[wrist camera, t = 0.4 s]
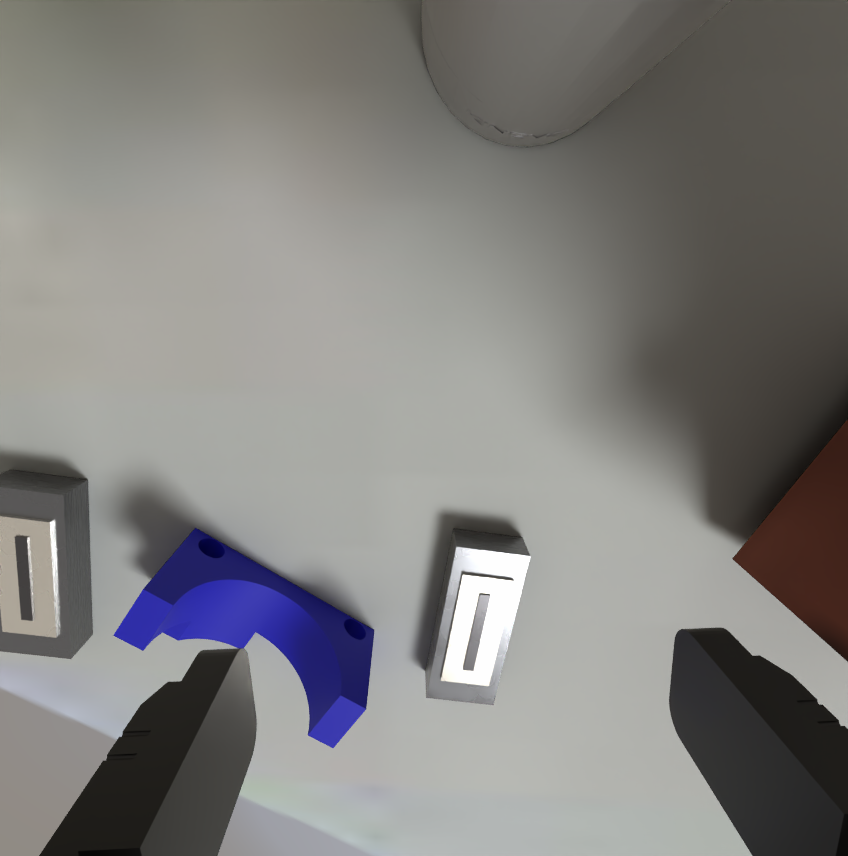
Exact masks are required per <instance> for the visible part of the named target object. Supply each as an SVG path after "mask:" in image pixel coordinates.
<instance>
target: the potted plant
mask: <svg viewBox="0 0 848 856" xmlns="http://www.w3.org/2000/svg"><path fill="white" fill-rule="evenodd" d="M733 560H734V561H735V562H736V563H738V564H739V565H740V566H741V567H742V568H743V569H744V570H745V571H747V572H748V573H749V574H750V575H751V576H752V577H753V578H754V579H756V580H757V581H758V582H759V583H760V584H761V585H762V586H763V587H765V588H766V589H767V590H768V591H769V592H770V593H771V594H772V595H774V596H775V597H776V598H777V599H778V600H779V601H780V602H781V603H783V604H784V605H785V606H786V607H787V608H788V609H789V610H790V611H792V612H793V613H794V614H795V615H796V616H797V617H798V618H799V619H801V620H802V621H803V622H804V623H805V624H806V625H807V626H808V627H809V628H811V629H812V630H813V631H814V632H815V633H816V634H817V635H818V636H820V637H821V638H822V639H823V640H824V641H825V642H826V643H827V644H829V645H830V646H831V647H832V648H833V649H834V650H835V651H836V652H838V653H839V654H840V655H841V656H842V657H843V658H844V659H845V660H847V661H848V419H847V421H846V422H845V423H844V424H843V425H842V427H841V428H840V429H839V430H838V431H837V433H836V434H835V435H834V436H833V437H832V439H831V440H830V441H829V442H828V444H827V445H826V446H825V447H824V448H823V450H822V451H821V452H820V453H819V454H818V456H817V457H816V458H815V459H814V461H813V462H812V463H811V464H810V465H809V467H808V468H807V469H806V470H805V471H804V473H803V474H802V475H801V476H800V477H799V479H798V480H797V481H796V482H795V484H794V485H793V486H792V487H791V488H790V490H789V491H788V492H787V493H786V494H785V496H784V497H783V498H782V499H781V501H780V502H779V503H778V504H777V505H776V507H775V508H774V509H773V510H772V511H771V513H770V514H769V515H768V516H767V517H766V519H765V520H764V521H763V522H762V524H761V525H760V526H759V527H758V528H757V530H756V531H755V532H754V533H753V534H752V536H751V537H750V538H749V539H748V541H747V542H746V543H745V544H744V545H743V547H742V548H741V549H740V550H739V551H738V553H737V554H736V555H735V556H734V557H733Z"/></svg>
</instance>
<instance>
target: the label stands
mask: <svg viewBox="0 0 848 856" xmlns="http://www.w3.org/2000/svg"><path fill="white" fill-rule="evenodd" d="M529 560H530V554H529V552H528V550H527V547H526V545H525V543H524V540H523V538H521V537H513V536H506V535H498V534H491V533H483V532H476V531H468V530H461V529H453V534H452V539H451V544H450V549H449V554H448V559H447V564H446V569H445V574H444V579H443V585H442V590H441V595H440V600H439V605H438V610H437V615H436V620H435V625H434V630H433V636H432V641H431V646H430V651H429V656H428V661H427V666H426V671H425V676H426V698H434V699H443V700H452V701H461V702H470V703H479V704H489V705H494V701H495V697H496V693H497V688H498V684H499V680H500V676H501V672H502V668H503V664H504V660H505V656H506V652H507V648H508V644H509V640H510V636H511V632H512V628H513V624H514V620H515V616H516V612H517V608H518V604H519V600H520V596H521V592H522V588H523V584H524V580H525V576H526V572H527V568H528V564H529ZM92 635H93V631H92V600H91V568H90V536H89V504H88V480H85V479H77V478H69V477H62V476H54V475H47V474H39V473H32V472H24V471H17V470H8V471H6V472H4V473H2V474H0V651H3V652H12V653H22V654H31V655H40V656H49V657H58V658H67V659H71V658H72V657H73V656H74V655H75V654H76V653H77V652H78V651H79V649H80V648H81V647H82V646H83V645H84V644H85V643H86V641H87V640H88V639H89V638H90V637H91V636H92Z"/></svg>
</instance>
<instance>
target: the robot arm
mask: <svg viewBox="0 0 848 856" xmlns="http://www.w3.org/2000/svg"><path fill="white" fill-rule="evenodd" d="M730 1H731V0H422V12H421V23H422V45H423V50H424V54H425V59H426V63H427V68H428V71H429V73H430V76H431V78H432V80H433V83H434V85H435V87H436V90H437V92H438V94H439V95H440V97H441V98H442V100H443V101H444V102H445V104H446V105H447V107H448V108H449V110H450V111H451V113H453V114H454V115H455V116H456V117H457V118H458V119H459V120H460V121H461V122H462V123H463V124H464V125H465V126H466V127H467V128H469V129H470V130H472V131H474V132H475V133H477V134H479V135H480V136H482V137H484V138H485V139H488V140H491V141H494V142H497V143H500V144H504V145H507V146H521V147H531V146H537V145H543V144H548V143H551V142H554V141H556V140H559V139H561V138H563V137H566V136H568V135H570V134H572V133H573V132H575V131H576V130H578V129H579V128H580V127H582V126H583V125H585V124H586V123H588V122H589V121H590V120H591V119H593V118H594V117H595V116H596V115H597V114H598V113H600V112H601V111H602V110H603V109H604V108H605V107H607V106H608V105H609V104H610V103H611V102H613V101H614V100H615V99H616V98H617V97H619V96H620V95H621V94H623V93H624V92H625V91H626V90H627V89H628V88H630V87H631V86H632V85H633V84H634V83H635V82H637V81H638V80H639V79H640V78H641V77H643V76H644V75H645V74H646V73H647V72H648V71H650V70H651V69H652V68H653V67H654V66H655V65H657V64H658V63H659V62H660V61H661V60H662V59H664V58H665V57H666V56H667V55H668V54H669V53H671V52H672V51H673V50H674V49H675V48H676V47H678V46H679V45H680V44H681V43H682V42H683V41H685V40H686V39H687V38H688V37H689V36H690V35H692V34H693V33H694V32H695V31H696V30H697V29H699V28H700V27H701V26H702V25H703V24H704V23H706V22H707V21H708V20H709V19H710V18H712V17H713V16H714V15H715V14H716V13H717V12H719V11H720V10H721V9H722V8H723V7H724V6H726V5H727V4H728V3H729V2H730ZM669 705H670V712H671V717H672V721H673V724H674V727H675V729H676V732H677V734H678V736H679V738H680V740H681V741H682V743H683V744H684V746H685V748H686V749H687V751H688V753H689V754H690V756H691V757H692V759H693V761H694V762H695V764H696V765H697V767H698V769H699V770H700V772H701V773H702V775H703V777H704V778H705V780H706V781H707V783H708V785H709V786H710V788H711V790H712V791H713V793H714V794H715V796H716V798H717V799H718V801H719V802H720V804H721V806H722V807H723V809H724V810H725V812H726V814H727V815H728V817H729V818H730V820H731V822H732V823H733V825H734V827H735V828H736V830H737V831H738V833H739V835H740V836H741V838H742V839H743V841H744V843H745V844H746V846H747V847H748V849H749V851H750V852H751V854H752V855H753V856H848V729H847V728H846V727H845V726H840V724H839V720H838V719H837V718H836V717H835V716H834V715H833V714H832V713H830V712H829V711H828V710H827V709H826V708H825V707H824V706H823V705H819V704H818V702H817V699H816V698H815V697H814V696H813V695H812V694H811V693H810V692H809V691H808V690H807V689H806V688H805V687H804V686H803V685H802V684H801V683H800V682H799V681H797V680H796V679H795V678H794V677H793V676H792V675H791V674H789V673H788V672H786V671H784V670H783V669H781V668H779V667H778V666H776V665H774V664H773V663H771V662H770V661H768V660H766V659H765V658H763V657H761V656H752V655H751V654H750V653H749V652H748V651H747V650H746V649H745V648H744V647H743V646H742V645H741V644H740V643H739V641H738V640H737V639H736V638H735V637H734V636H733V635H732V634H731V633H730V632H729V631H727V630H726V629H724V628H699V629H681V630H679V631H678V632H677V634H676V637H675V642H674V653H673V664H672V674H671V685H670V696H669ZM255 739H256V712H255V704H254V697H253V689H252V681H251V674H250V666H249V659H248V655H247V652H246V650H245V649H244V648H239V649H217V650H202V651H200V652H199V653H198V655H197V656H196V658H195V659H194V661H193V663H192V664H191V666H190V668H189V669H188V671H187V673H186V674H185V676H184V678H183V679H182V681H180V682H167V683H166V684H165V685H164V686H163V687H161V688H160V689H159V690H158V691H157V692H155V693H154V694H153V695H152V696H151V697H150V698H148V699H147V700H146V701H145V702H144V703H143V704H141V705H140V707H139V708H138V710H137V711H136V713H135V714H134V716H133V717H132V719H131V720H130V722H129V723H128V725H127V726H126V728H125V729H124V731H123V735H122V737H119V738H118V740H117V741H116V743H115V744H114V746H113V747H112V749H111V750H110V752H109V753H108V755H107V759H106V761H103V762H102V763H101V765H100V766H99V768H98V769H97V771H96V772H95V774H94V775H93V777H92V778H91V780H90V781H89V783H88V784H87V786H86V787H85V789H84V790H83V792H82V793H81V795H80V796H79V797H78V799H77V800H76V802H75V803H74V805H73V806H72V808H71V809H70V811H69V812H68V814H67V816H66V817H65V818H64V820H63V821H62V823H61V824H60V826H59V827H58V829H57V830H56V832H55V833H54V835H53V836H52V838H51V839H50V841H49V842H48V843H47V845H46V846H45V848H44V850H43V851H42V853H41V854H40V855H39V856H217V855H218V852H219V849H220V846H221V843H222V841H223V838H224V835H225V832H226V829H227V827H228V823H229V821H230V818H231V815H232V812H233V810H234V807H235V804H236V801H237V798H238V795H239V792H240V790H241V787H242V784H243V781H244V778H245V775H246V772H247V770H248V767H249V764H250V761H251V758H252V755H253V751H254V746H255Z"/></svg>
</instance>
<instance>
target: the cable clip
mask: <svg viewBox="0 0 848 856" xmlns="http://www.w3.org/2000/svg"><path fill="white" fill-rule="evenodd" d="M162 632H163V633H165V634H167V635H169V636H171V637H173V638H174V639H176V640H184V639H197V638H198V639H210V640H216V641H220V642H224V643H227V644H230V645H232V646H235V647H237V648H244V647H245V646H246V644H247V643H248V641H249V640H250V639H251V637H252V636H253V635H254V633H255V632H256V633H258V634H260V635H261V636H263V637H264V638H266V639H267V640H269V641H270V642H271V643H272V644H274V645H275V646H276V647H277V648H278V649H279V650H280V651H281V652H282V653H283V654H284V655H285V656H286V657H287V659H288V660H289V661H290V662H291V664H292V665H293V667H294V668H295V670H296V672H297V673H298V675H299V677H300V679H301V681H302V683H303V686H304V689H305V692H306V695H307V699H308V704H309V714H310V722H309V731H308V736H310V737H312V738H314V739H316V740H318V741H320V742H322V743H324V744H326V745H328V746H330V747H332V748H334V747H335V745H336V744H337V743H338V742H339V741H340V739H341V738H342V737H343V736H344V735H345V734H346V732H347V731H348V730H349V729H350V728H351V726H352V725H353V724H354V723H355V722H356V720H357V719H358V718H359V717H360V716H361V715H362V713H363V712H364V711H365V710H366V706H367V696H368V686H369V677H370V667H371V657H372V648H373V638H374V630H373V629H371V628H370V627H368V626H366V625H364V624H363V623H361V622H359V621H357V620H356V619H354V618H352V617H350V616H349V615H347V614H345V613H343V612H342V611H340V610H338V609H336V608H335V607H333V606H331V605H329V604H328V603H326V602H324V601H322V600H321V599H319V598H317V597H315V596H314V595H312V594H310V593H308V592H307V591H305V590H303V589H301V588H300V587H298V586H296V585H294V584H293V583H291V582H289V581H287V580H286V579H284V578H282V577H280V576H279V575H277V574H275V573H273V572H272V571H270V570H268V569H267V568H265V567H263V566H261V565H260V564H258V563H256V562H254V561H253V560H251V559H249V558H247V557H246V556H244V555H242V554H240V553H239V552H237V551H235V550H233V549H232V548H230V547H228V546H226V545H225V544H223V543H221V542H219V541H218V540H216V539H214V538H212V537H211V536H209V535H207V534H205V533H204V532H202V531H200V530H198V529H197V528H195V529H194V530H193V531H192V532H191V534H190V535H189V536H188V537H187V538H186V540H185V541H184V542H183V543H182V544H181V545H180V547H179V548H178V549H177V550H176V551H175V552H174V554H173V555H172V556H171V557H170V558H169V560H168V561H167V562H166V563H165V564H164V565H163V567H162V568H161V569H160V570H159V571H158V572H157V574H156V575H155V576H154V577H153V578H152V580H151V581H150V582H149V583H148V584H147V585H146V587H145V588H144V589H143V590H142V592H141V594H140V595H139V597H138V598H137V600H136V601H135V603H134V604H133V606H132V607H131V609H130V611H129V612H128V614H127V615H126V617H125V618H124V620H123V621H122V623H121V625H120V626H119V628H118V629H117V631H116V632H115V634H114V635H113V636H115V637H117V638H119V639H121V640H123V641H125V642H127V643H129V644H131V645H133V646H135V647H137V648H139V649H141V650H144V649H145V648H146V647H147V645H148V644H149V643H150V642H151V641H152V640H153V639H154V638H155V637H157V636H158V635H159V634H161V633H162Z"/></svg>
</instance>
